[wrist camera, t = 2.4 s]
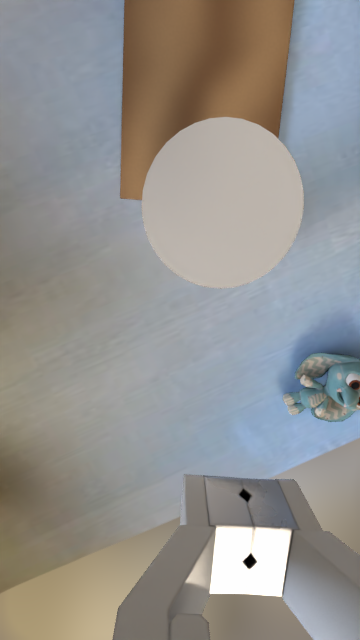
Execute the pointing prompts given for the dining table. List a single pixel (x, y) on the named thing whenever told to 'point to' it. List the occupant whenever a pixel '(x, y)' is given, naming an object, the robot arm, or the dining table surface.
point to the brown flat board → (197, 71)
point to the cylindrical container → (222, 202)
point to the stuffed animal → (327, 387)
